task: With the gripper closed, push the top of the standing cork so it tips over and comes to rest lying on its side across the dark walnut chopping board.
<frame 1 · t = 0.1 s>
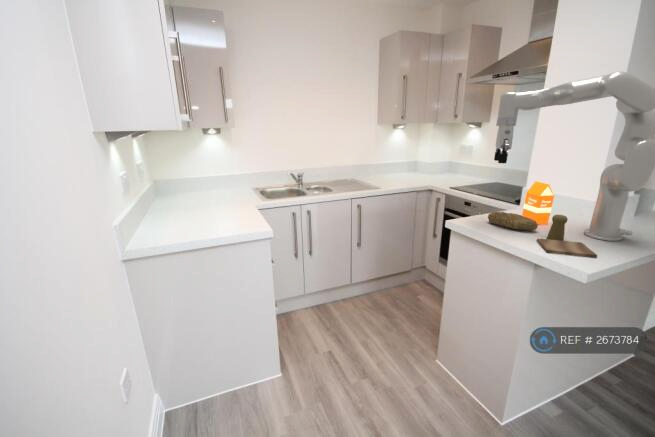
hand: (499, 161, 140), 31 cm above the worktop, tool pointing down, fingers open, 9 cm apart
cork: (554, 240, 132), on the worktop
orange juice: (534, 222, 156), on the worktop
sponge: (511, 227, 148), on the worktop
walnut board: (564, 248, 122), on the worktop
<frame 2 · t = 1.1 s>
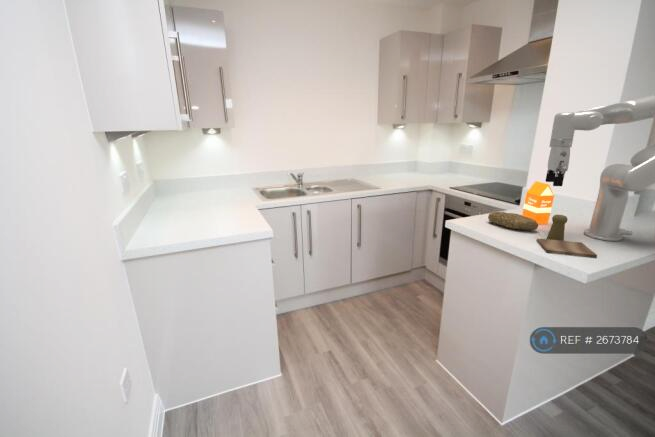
hand: (553, 183, 133), 23 cm above the worktop, tool pointing down, fingers open, 9 cm apart
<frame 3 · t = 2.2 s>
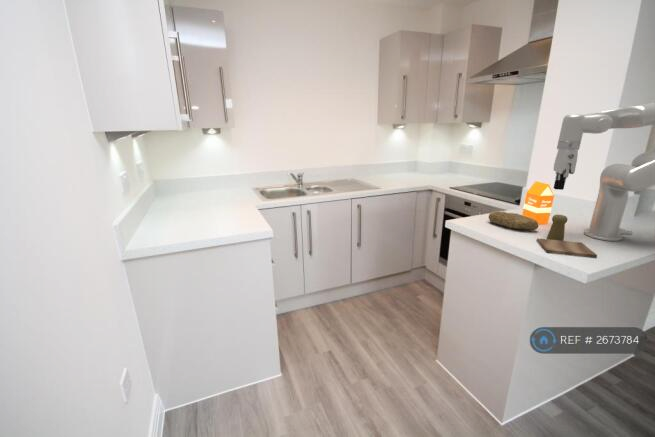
hand: (558, 189, 133), 21 cm above the worktop, tool pointing down, fingers closed
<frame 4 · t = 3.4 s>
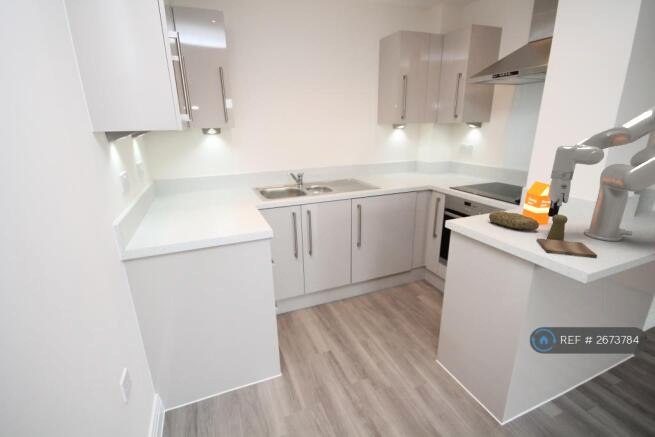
hand: (552, 216, 137), 8 cm above the worktop, tool pointing down, fingers closed
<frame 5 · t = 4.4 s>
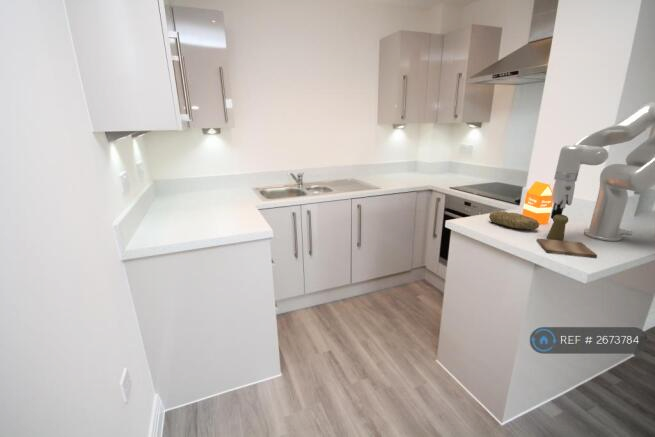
hand: (555, 218, 132), 8 cm above the worktop, tool pointing down, fingers closed
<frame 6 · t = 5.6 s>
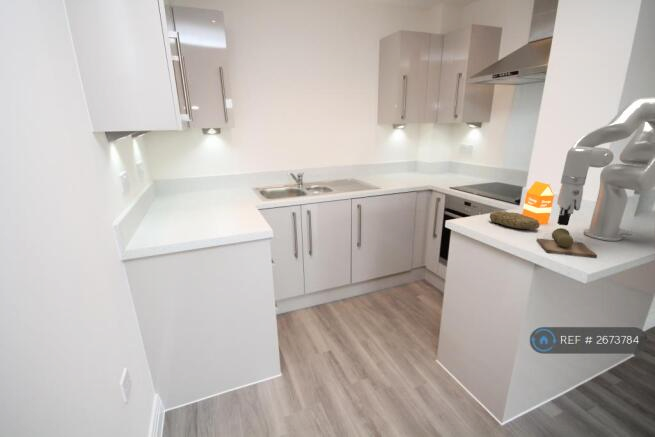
hand: (562, 224, 126), 8 cm above the worktop, tool pointing down, fingers closed
cork: (560, 235, 128), point 3 cm above the worktop, touching walnut board
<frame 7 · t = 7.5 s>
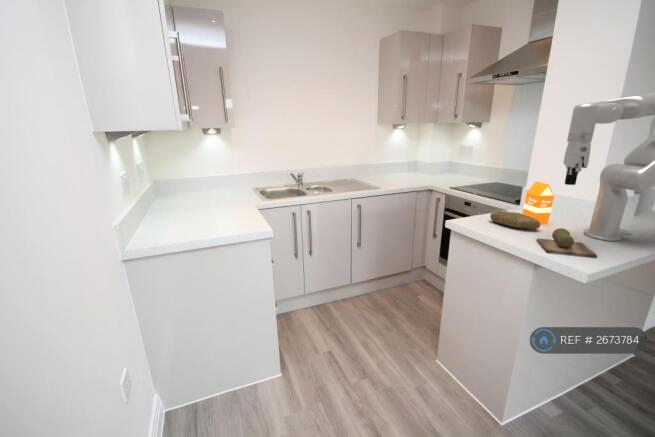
hand: (569, 184, 125), 24 cm above the worktop, tool pointing down, fingers closed
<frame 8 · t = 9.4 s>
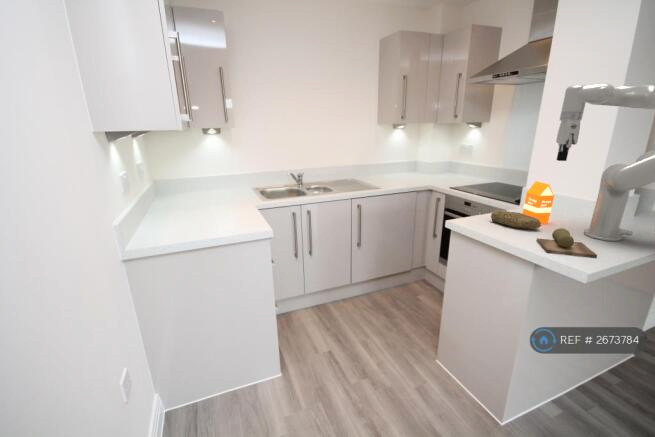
hand: (561, 160, 136), 32 cm above the worktop, tool pointing down, fingers closed
at the end: cork tilted 86°; cork touching walnut board; the gripper is holding nothing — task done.
